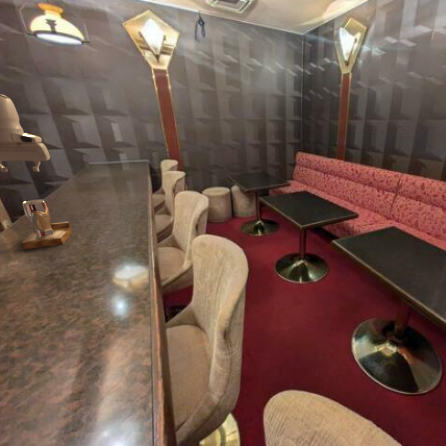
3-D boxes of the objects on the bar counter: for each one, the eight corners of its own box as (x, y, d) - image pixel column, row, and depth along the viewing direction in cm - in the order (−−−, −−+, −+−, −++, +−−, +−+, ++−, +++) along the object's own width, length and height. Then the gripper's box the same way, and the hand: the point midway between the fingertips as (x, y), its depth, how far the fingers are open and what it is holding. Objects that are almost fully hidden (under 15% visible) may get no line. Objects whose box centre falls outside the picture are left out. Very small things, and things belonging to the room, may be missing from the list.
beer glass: (53, 230, 111) (41, 198, 105) (59, 234, 107) (47, 201, 102) (32, 235, 105) (18, 202, 100) (37, 239, 102) (24, 205, 96)
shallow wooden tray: (24, 249, 100) (19, 237, 98) (37, 236, 112) (33, 225, 110) (63, 244, 106) (59, 232, 104) (72, 232, 117) (68, 221, 115)
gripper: (-35, 136, 92) (-20, 173, 96) (40, 138, 101) (50, 172, 106) (-24, 135, 97) (-11, 171, 102) (46, 137, 106) (55, 170, 111)
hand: (21, 171), depth 104 cm, fingers open, 8 cm apart
